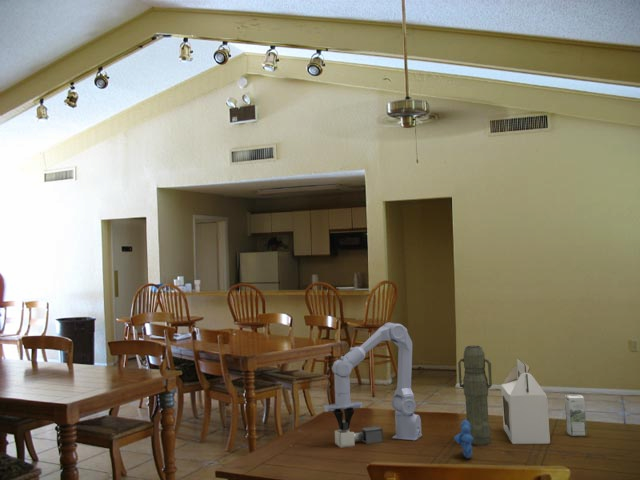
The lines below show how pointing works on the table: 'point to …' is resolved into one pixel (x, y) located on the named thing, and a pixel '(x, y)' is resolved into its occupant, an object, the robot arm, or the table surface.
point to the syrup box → (575, 415)
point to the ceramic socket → (344, 438)
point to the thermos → (476, 393)
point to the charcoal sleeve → (372, 434)
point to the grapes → (465, 438)
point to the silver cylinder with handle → (356, 435)
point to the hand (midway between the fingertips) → (344, 429)
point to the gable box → (524, 407)
